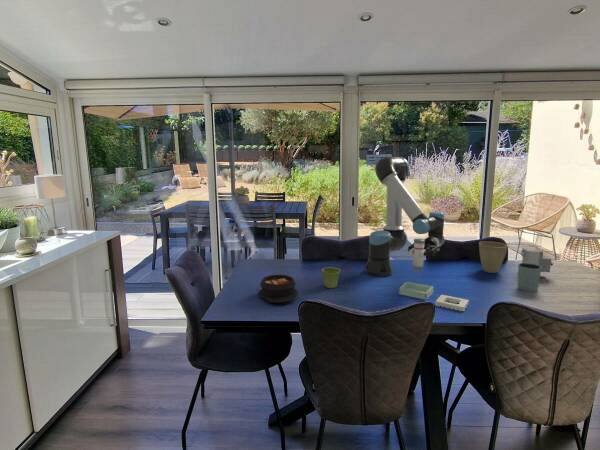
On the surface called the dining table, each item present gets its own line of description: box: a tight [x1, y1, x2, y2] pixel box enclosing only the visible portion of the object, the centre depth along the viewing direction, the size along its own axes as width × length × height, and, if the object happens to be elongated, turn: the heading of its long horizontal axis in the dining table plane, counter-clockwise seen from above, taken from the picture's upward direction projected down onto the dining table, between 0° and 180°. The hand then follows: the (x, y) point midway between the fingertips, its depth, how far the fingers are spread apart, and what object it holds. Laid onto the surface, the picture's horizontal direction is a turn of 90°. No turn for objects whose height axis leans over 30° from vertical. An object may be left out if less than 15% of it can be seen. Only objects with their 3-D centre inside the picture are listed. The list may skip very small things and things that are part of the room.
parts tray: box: [398, 281, 434, 301], centre depth 189 cm, size 13×11×3 cm
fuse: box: [411, 238, 425, 271], centre depth 186 cm, size 5×5×14 cm
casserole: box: [258, 274, 299, 304], centre depth 185 cm, size 25×19×8 cm
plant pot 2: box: [478, 240, 509, 274], centre depth 224 cm, size 15×15×16 cm
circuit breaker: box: [520, 247, 554, 279], centre depth 215 cm, size 8×14×15 cm, turn 78°
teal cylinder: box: [517, 262, 542, 292], centre depth 196 cm, size 10×10×12 cm
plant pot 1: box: [321, 266, 341, 289], centre depth 198 cm, size 9×9×9 cm
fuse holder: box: [434, 294, 470, 312], centre depth 175 cm, size 12×10×2 cm
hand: (415, 254), depth 181 cm, fingers closed on fuse, 5 cm apart
